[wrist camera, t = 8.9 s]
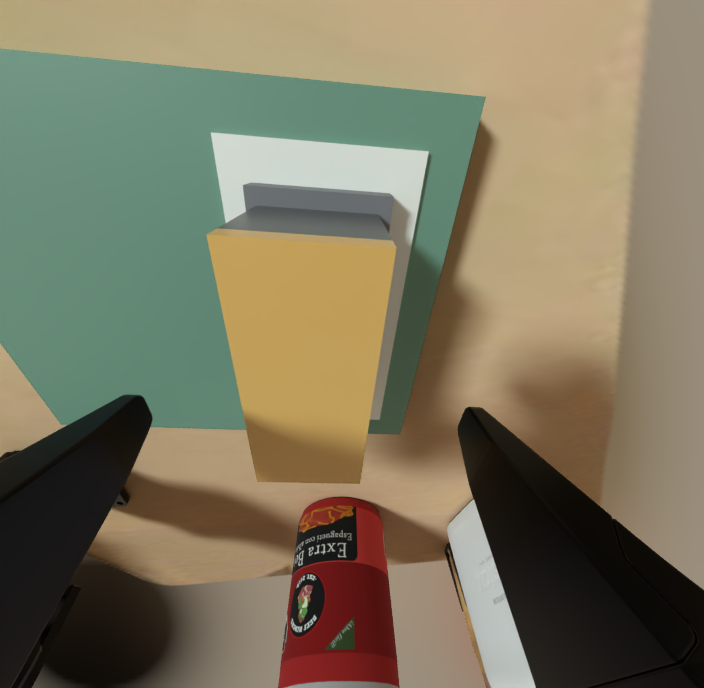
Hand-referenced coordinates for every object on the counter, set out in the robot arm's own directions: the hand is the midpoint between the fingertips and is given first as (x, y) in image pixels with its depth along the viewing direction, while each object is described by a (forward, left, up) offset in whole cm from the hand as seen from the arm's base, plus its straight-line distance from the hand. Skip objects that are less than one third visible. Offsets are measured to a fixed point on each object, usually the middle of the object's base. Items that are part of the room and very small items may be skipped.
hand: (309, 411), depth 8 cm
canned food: (-22, -2, -8) cm, 23 cm away
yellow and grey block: (0, 0, -5) cm, 5 cm away
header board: (0, +5, -7) cm, 9 cm away
